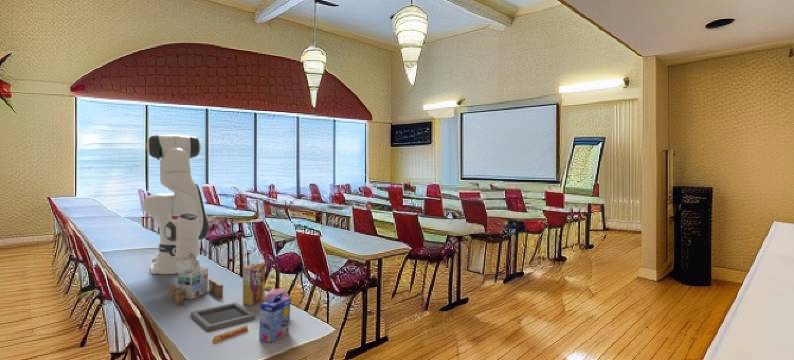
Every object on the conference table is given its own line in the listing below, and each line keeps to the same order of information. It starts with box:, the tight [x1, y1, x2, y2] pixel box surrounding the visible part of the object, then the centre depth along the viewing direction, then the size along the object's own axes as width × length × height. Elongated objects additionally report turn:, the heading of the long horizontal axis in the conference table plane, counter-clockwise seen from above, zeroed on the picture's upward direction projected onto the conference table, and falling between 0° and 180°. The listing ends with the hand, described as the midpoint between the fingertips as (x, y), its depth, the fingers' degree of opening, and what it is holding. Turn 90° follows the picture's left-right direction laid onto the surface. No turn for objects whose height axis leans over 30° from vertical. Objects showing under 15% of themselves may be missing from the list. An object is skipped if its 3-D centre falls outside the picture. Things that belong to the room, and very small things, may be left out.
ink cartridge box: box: [258, 293, 292, 344], centre depth 137 cm, size 10×6×14 cm, turn 159°
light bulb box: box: [177, 266, 209, 300], centre depth 173 cm, size 11×7×11 cm, turn 168°
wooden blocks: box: [169, 278, 224, 306], centre depth 171 cm, size 12×17×5 cm
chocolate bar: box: [211, 324, 249, 344], centre depth 136 cm, size 3×12×2 cm, turn 145°
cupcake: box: [263, 288, 290, 302], centre depth 155 cm, size 9×9×10 cm
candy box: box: [242, 262, 266, 306], centre depth 168 cm, size 9×4×15 cm, turn 158°
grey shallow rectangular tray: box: [190, 301, 257, 332], centre depth 151 cm, size 17×17×2 cm
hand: (187, 283), depth 179 cm, fingers closed
